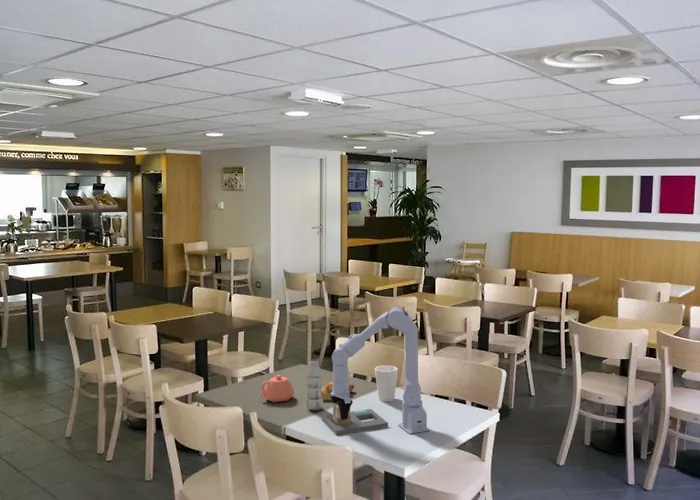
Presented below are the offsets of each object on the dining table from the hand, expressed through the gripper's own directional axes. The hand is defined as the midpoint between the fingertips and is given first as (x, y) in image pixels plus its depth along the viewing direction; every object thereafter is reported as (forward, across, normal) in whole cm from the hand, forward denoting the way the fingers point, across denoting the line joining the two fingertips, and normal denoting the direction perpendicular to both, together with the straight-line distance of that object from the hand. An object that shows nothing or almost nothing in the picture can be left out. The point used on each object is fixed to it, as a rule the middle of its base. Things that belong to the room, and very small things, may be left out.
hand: (341, 416), depth 223 cm
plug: (+2, 0, 0) cm, 2 cm away
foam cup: (+4, -20, +27) cm, 34 cm away
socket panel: (+3, 0, +5) cm, 6 cm away
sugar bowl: (+3, -38, -15) cm, 41 cm away
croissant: (+4, -33, +8) cm, 34 cm away
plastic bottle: (+3, -20, -4) cm, 21 cm away
